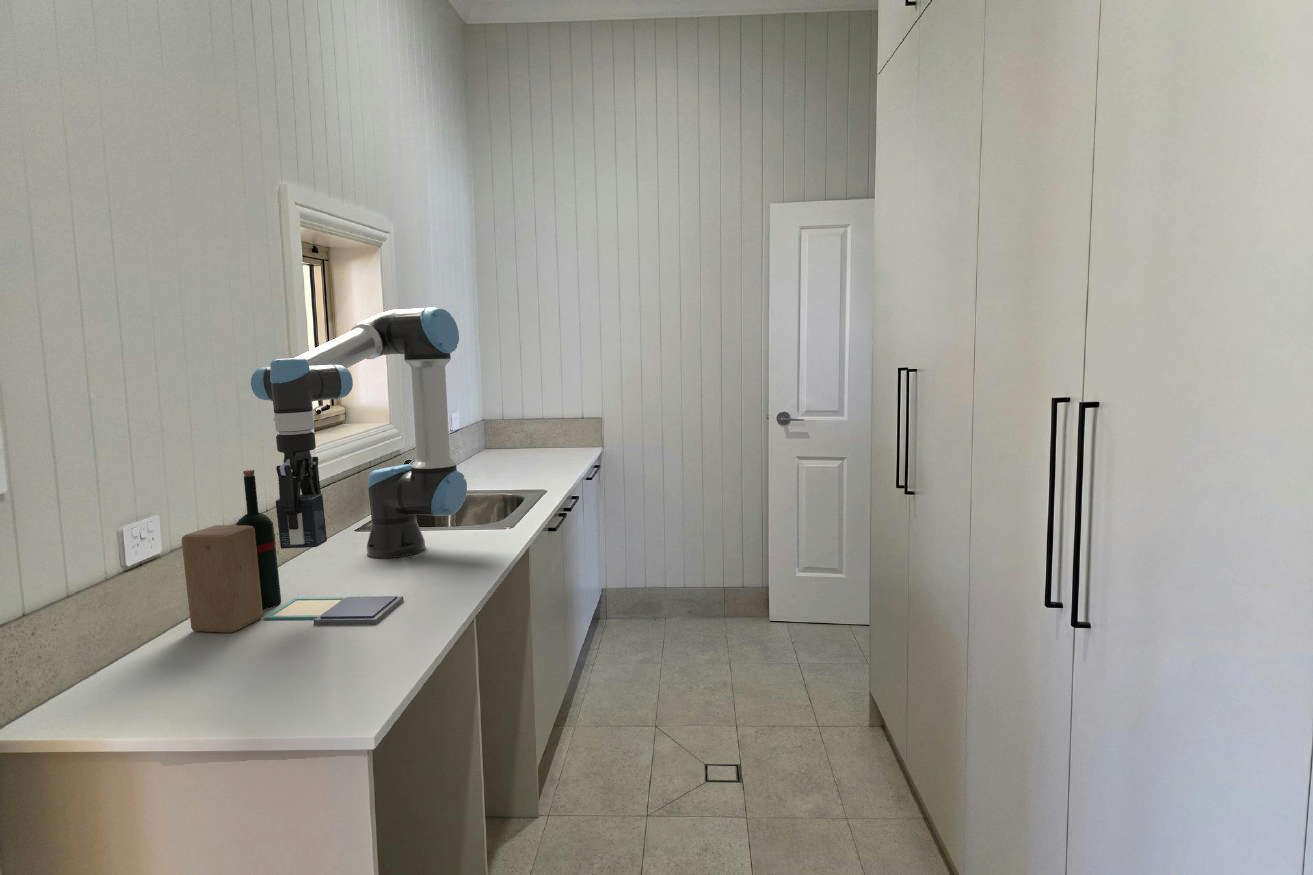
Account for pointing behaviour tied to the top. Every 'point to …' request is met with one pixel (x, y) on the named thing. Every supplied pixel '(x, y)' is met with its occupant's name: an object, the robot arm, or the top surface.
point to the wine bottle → (262, 544)
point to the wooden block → (222, 578)
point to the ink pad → (359, 610)
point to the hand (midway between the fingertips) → (304, 539)
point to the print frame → (303, 608)
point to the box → (305, 522)
